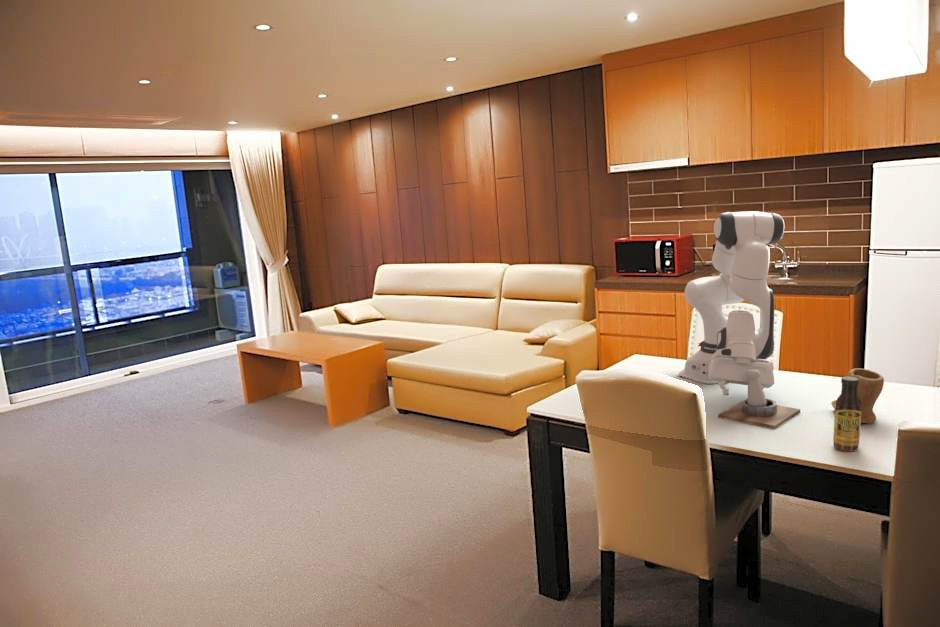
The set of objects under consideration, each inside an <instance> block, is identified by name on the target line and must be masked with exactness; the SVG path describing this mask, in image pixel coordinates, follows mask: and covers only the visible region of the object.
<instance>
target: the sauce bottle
mask: <svg viewBox="0 0 940 627" xmlns="http://www.w3.org/2000/svg"><path fill="white" fill-rule="evenodd" d="M840 382H841V391H840V392H841V393H840V394H839V395H838V397H837V399H836V410H835V409H834V419H833V420H834V421H833V435H832V436H833V437H832V438H833V440H832V441H833V447H834V448H835V449H837V450H839V451H842V452H855V451H857V450H858V449H859V445H860V436H861V426H862V423H861V401H860V399H859V397H858V395H857V394H858V393H857V389H858V384H859V379H858V378H855V377H847V376H843V377H841V380H840Z"/></svg>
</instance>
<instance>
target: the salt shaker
mask: <svg viewBox="0 0 940 627" xmlns="http://www.w3.org/2000/svg"><path fill="white" fill-rule="evenodd" d="M745 376H746V378H748V385H747V398H746V399H747V404H748V405H750V406H755V407H766V405H767V401H766V399H767V398H766V395H765V393H764V391H763V390H764V389H763V390H762V387H761V384H760V381H759V378H758V377H760V372H759V371H758V370H748V371H746V372H745Z"/></svg>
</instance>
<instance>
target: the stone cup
mask: <svg viewBox="0 0 940 627" xmlns="http://www.w3.org/2000/svg"><path fill="white" fill-rule="evenodd" d="M847 377H855V378H858V379H859V384H858V389H857V393H858V394H857V395H858V397H859V399H860V401H861V424H862V423H863V424H864V423H865V424H867V423H868V424H869V423H874V422H877V415H876V414H875V412H874V410H873V409H874V406H875V404H876V402H877V400H878V399H879V397H880V394H881V393H882V391H883V389H884V384H885V379H884V377H883V376H882V375H881V374H880V373H878V372H877V371H872V370H871V369H865V368H861V367H860V368H852V369H851V370H848V373H847ZM836 400H837V399H836ZM836 400H833V401H832V402H831V403H830V404H831V406H832V407H833V409H834V411H835V410H836Z"/></svg>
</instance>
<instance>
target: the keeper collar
mask: <svg viewBox="0 0 940 627" xmlns="http://www.w3.org/2000/svg"><path fill="white" fill-rule="evenodd" d="M766 401H767V405H766V407H755V406H750V405H748V404H747V398H744V399H743V400H742V413H744V414H746V415H748V416H753V417H770V416H774V415H775V414H777V405H778V404H777V401H775V400H773V399H770V398H766Z"/></svg>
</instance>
